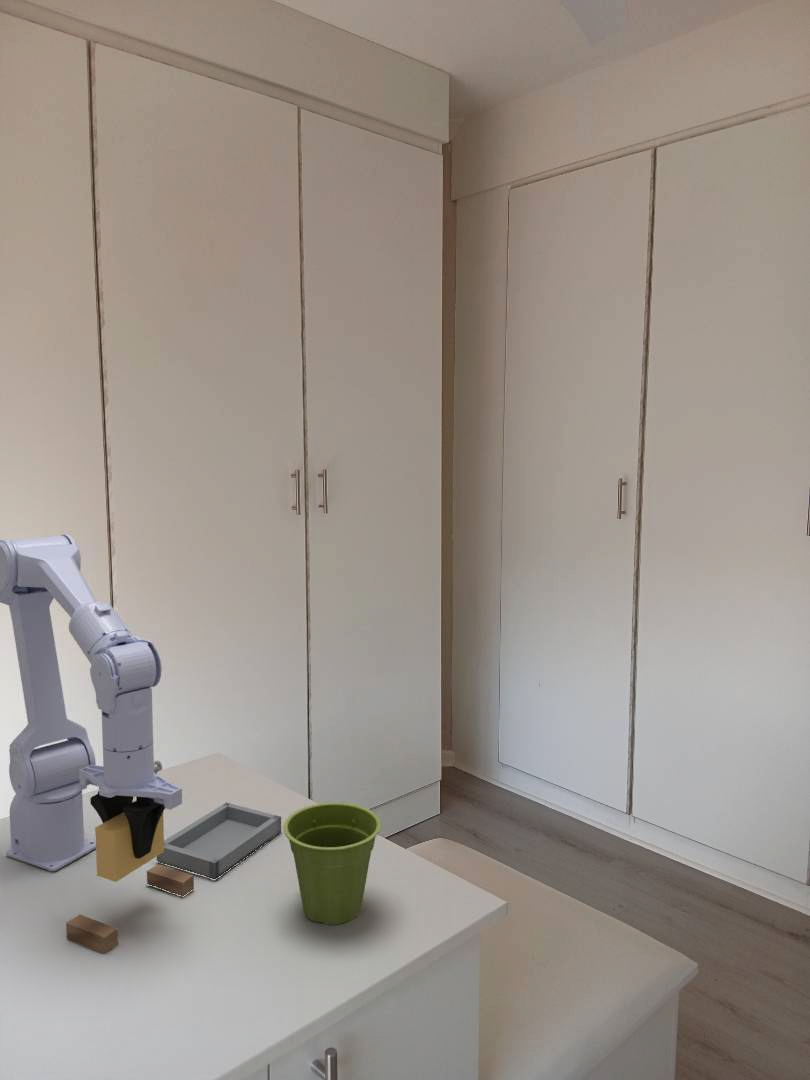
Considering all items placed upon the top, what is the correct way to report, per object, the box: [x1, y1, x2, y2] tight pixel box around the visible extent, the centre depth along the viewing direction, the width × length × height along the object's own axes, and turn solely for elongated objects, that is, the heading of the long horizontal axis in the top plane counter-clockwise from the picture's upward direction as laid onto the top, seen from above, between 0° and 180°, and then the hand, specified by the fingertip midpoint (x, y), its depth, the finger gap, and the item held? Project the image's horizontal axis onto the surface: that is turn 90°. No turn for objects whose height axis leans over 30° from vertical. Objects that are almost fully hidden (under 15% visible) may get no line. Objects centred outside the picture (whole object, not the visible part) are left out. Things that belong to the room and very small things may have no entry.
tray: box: [156, 802, 282, 879], centre depth 120 cm, size 10×15×2 cm, turn 153°
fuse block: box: [94, 812, 165, 883], centre depth 102 cm, size 3×8×6 cm, turn 154°
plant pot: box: [282, 802, 382, 925], centre depth 104 cm, size 12×12×11 cm
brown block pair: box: [65, 863, 195, 955], centre depth 103 cm, size 6×15×2 cm, turn 153°
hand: (131, 851), depth 102 cm, fingers closed on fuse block, 3 cm apart
